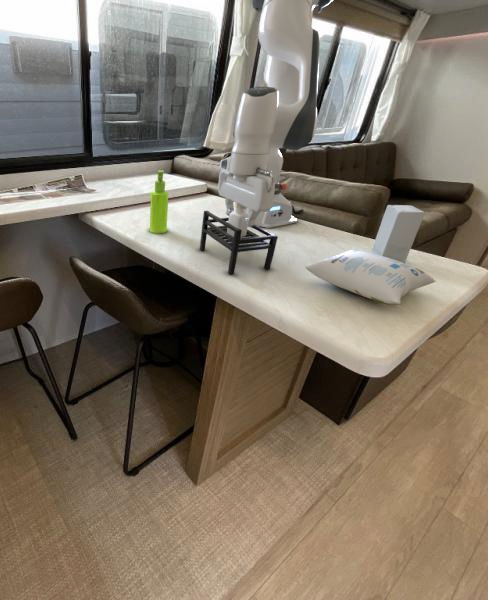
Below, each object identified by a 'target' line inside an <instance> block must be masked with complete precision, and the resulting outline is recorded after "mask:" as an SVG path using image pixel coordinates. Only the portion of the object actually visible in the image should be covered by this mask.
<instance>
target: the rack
mask: <svg viewBox="0 0 488 600" xmlns="http://www.w3.org/2000/svg"><path fill="white" fill-rule="evenodd" d="M228 221H229V217H219V216H217V215H216V214H213V212H210V211H209V210H203V215H202V222H201V223H202V225H201V232H200V233H201V234H200V243H199V251H200V252H205V251H206V245H207V244H206V243H207V236H209V237H210V238H212V239H213V240H215V241H216V242H217V243H218V244H221V246H223V247H225V248H226V249H227V250H229V251H230V256H229V262H228V269H227V274H228V275H229V276H233V275H235V270H236V265H237V260H238V254H239V253H245V252H252V251H253V252H254V251H261V250H267V251H266V256H265V260H264V263H263V269H264V270H265V271H269V270H271V266H272V263H273V259H274V253H275V250H276V246H277V242H278V239H279V238H278V237H279V236H278V235H276V234H274V233H272V232H270V231H268V230H266V229H264V228H263V227H261V226H256V225H253V226H249V227H250V228H252V229H254V230H256V231H258V232H260V233H261V234H263V235H262V236H260V235H258V234H257V233H256V232H253V231H252V230H250V229H248V228H247V233H246V236H243V237H241V232H242V230H241V229H238V228H236V227H234V226H233V225H231V224H229V223H228ZM214 223H219V224H221V225H215V224H214ZM227 228H229V229H231V230H233V231H234V237H233V236H231V235H230V234H228V233H227Z"/></svg>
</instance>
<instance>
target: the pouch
mask: <svg viewBox="0 0 488 600" xmlns="http://www.w3.org/2000/svg"><path fill="white" fill-rule="evenodd" d="M304 268H305V269H306V270H307V271H308V272H309V273H311V274H312V275H313V276H315V277H317V278H318V279H320V280H323V281H325V282H327V283H329V284H331V285H334V286H336V287H338V288H341V289H342V290H346V291H348V292H350V293H352V294H353V293H354V294H356V295H359V296H361V297H364V298H367V299H369V300H372V301H375V302H376V301H377V302H379V303H383V304H386V305H387V304H388V305H397V304H401V298H403V297H404V296H405V295H406V294H409V293H412V292H413V291H415V290H417V289H420V288H423V287H425V286H428V285H431V284H433V283H436V282H437V280H435V278H433V277H432V276H431V275H430V274H428V273H426V272H425V271H423V270H421V269H419V268H417V267H415V266H413V265H409V264H407V263H406V262H405V263H402V262H400V261H397V260H393V259H390V258H387V257H384V256H380V255H377V254H373V253H371V252H369V251H363V250H355V249H350V250H346V251H343V252H341V253H339V254H336V255H333V256H329V257H327V258H324V259H321V260H319V261H315V262H314V263H311V264H309V265H307V266H304Z"/></svg>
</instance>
